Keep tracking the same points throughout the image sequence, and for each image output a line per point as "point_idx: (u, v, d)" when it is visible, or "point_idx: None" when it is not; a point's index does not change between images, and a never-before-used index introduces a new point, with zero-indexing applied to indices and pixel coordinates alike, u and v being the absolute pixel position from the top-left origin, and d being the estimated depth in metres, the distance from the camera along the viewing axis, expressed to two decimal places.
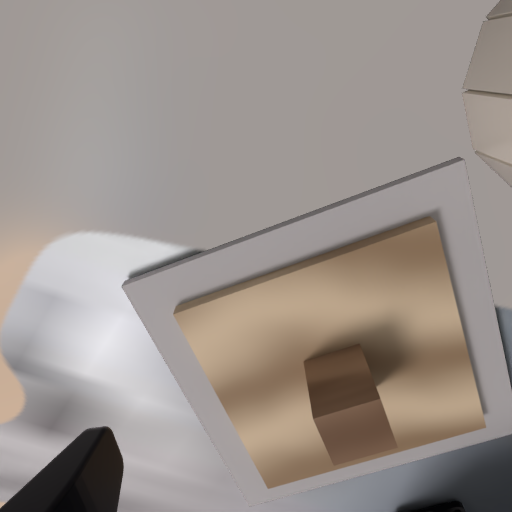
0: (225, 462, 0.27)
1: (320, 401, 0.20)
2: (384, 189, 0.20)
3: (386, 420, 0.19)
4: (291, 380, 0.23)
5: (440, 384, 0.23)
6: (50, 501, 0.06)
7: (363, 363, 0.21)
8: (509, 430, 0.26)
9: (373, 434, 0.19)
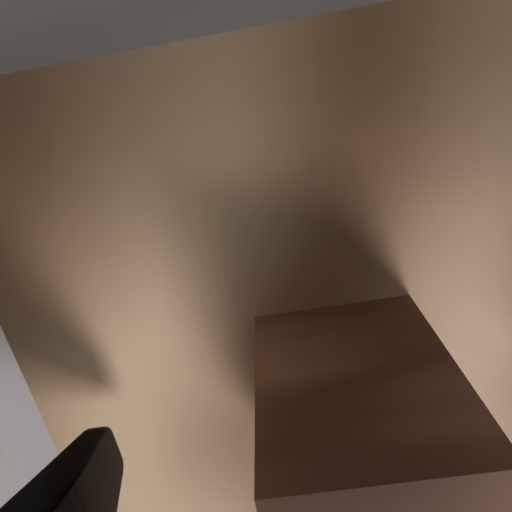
0: None
1: None
2: None
3: (366, 492, 0.05)
4: None
5: (468, 109, 0.07)
6: (50, 501, 0.06)
7: None
8: None
9: None
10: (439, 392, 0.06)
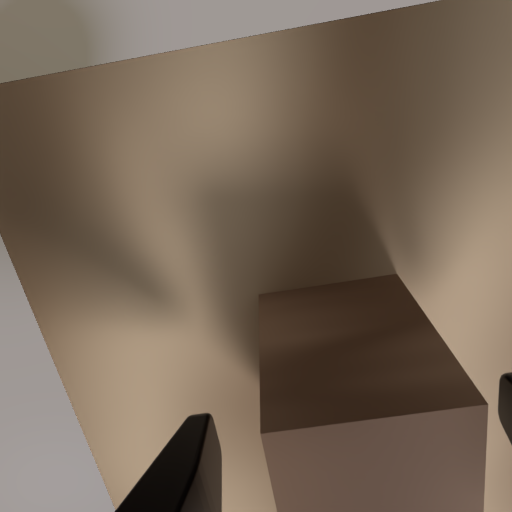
0: None
1: None
2: None
3: (354, 426, 0.06)
4: None
5: (446, 106, 0.08)
6: (180, 485, 0.06)
7: None
8: None
9: (401, 460, 0.06)
10: (418, 350, 0.07)
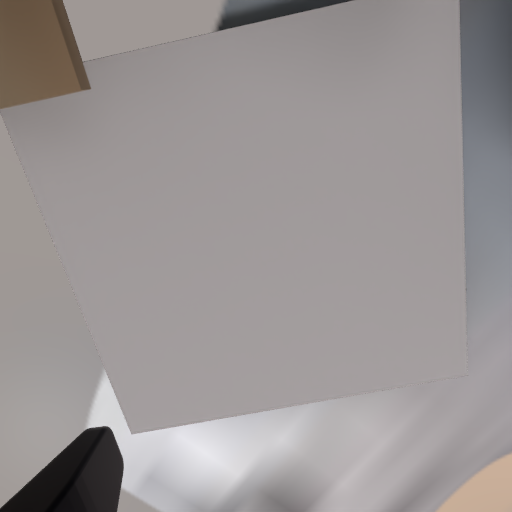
0: (383, 388, 0.22)
1: None
2: None
3: None
4: None
5: None
6: (50, 501, 0.06)
7: None
8: None
9: None
10: None
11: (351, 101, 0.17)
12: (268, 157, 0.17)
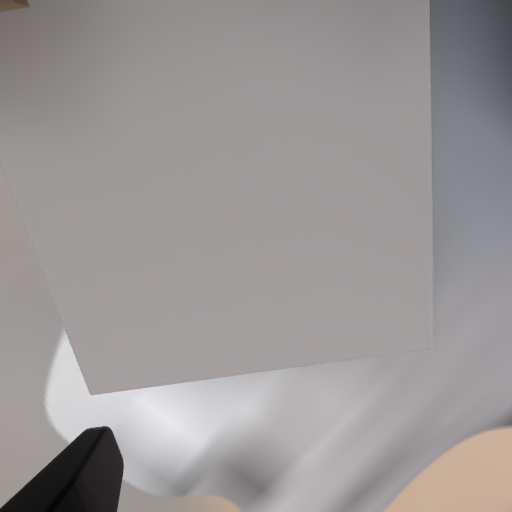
0: (347, 358, 0.21)
1: None
2: None
3: None
4: None
5: None
6: (50, 501, 0.06)
7: None
8: None
9: None
10: None
11: (315, 50, 0.16)
12: (230, 106, 0.17)
